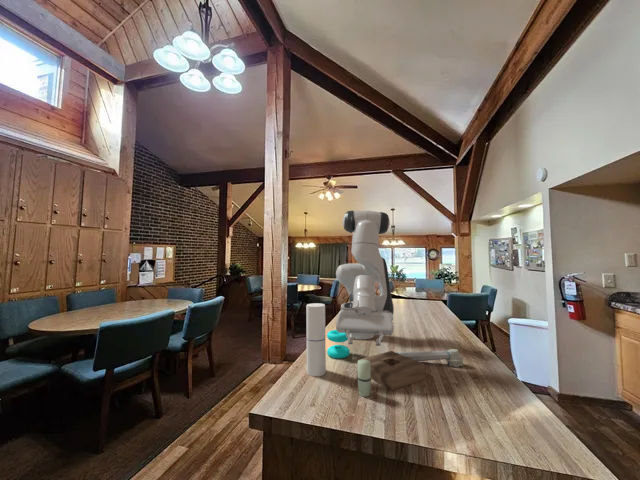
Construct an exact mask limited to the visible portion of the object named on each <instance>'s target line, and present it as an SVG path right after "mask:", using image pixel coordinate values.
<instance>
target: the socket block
mask: <svg viewBox="0 0 640 480" xmlns="http://www.w3.org/2000/svg"><path fill="white" fill-rule="evenodd" d="M362 359H364V360H369V361H370V372H371V380H373V381H375V382H376V383H378V384H379V385H381V386H383V387H385V388H387V389H388V390H389V391H395V390H398V389H401V388H403V387H406V386H410V385H412V384H415V383H417V382H421V381H424V380H426V369H425V367H426V365H425V364H424V363H422V362H421V361H415V360H412V359H410V358H408V357H405V356H403V355H400V354H398V353H396V351H392V350H389V351H387V352H383V353H379V354H375V355H374V354H373V355H371V356H366V357H362V358H360V359H359V360H362Z"/></svg>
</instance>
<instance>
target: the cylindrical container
mask: <svg viewBox="0 0 640 480" xmlns="http://www.w3.org/2000/svg"><path fill="white" fill-rule="evenodd" d="M305 308H306V311H305V312H306V313H305V314H306V316H305V317H306V319H305V321H306V329H305V331H306V332H305V333H306V374H307V375H308V376H310V377H321V376H324V375H326V371H327V369H326V368H327V367H326V366H327V365H326V363H327V362H326V359H327V356H326V353H327V351H326V350H327V349H326V305H325V303H321V302H320V303H318V302H317V303H316V302H314V303H307V304H306V306H305Z"/></svg>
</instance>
